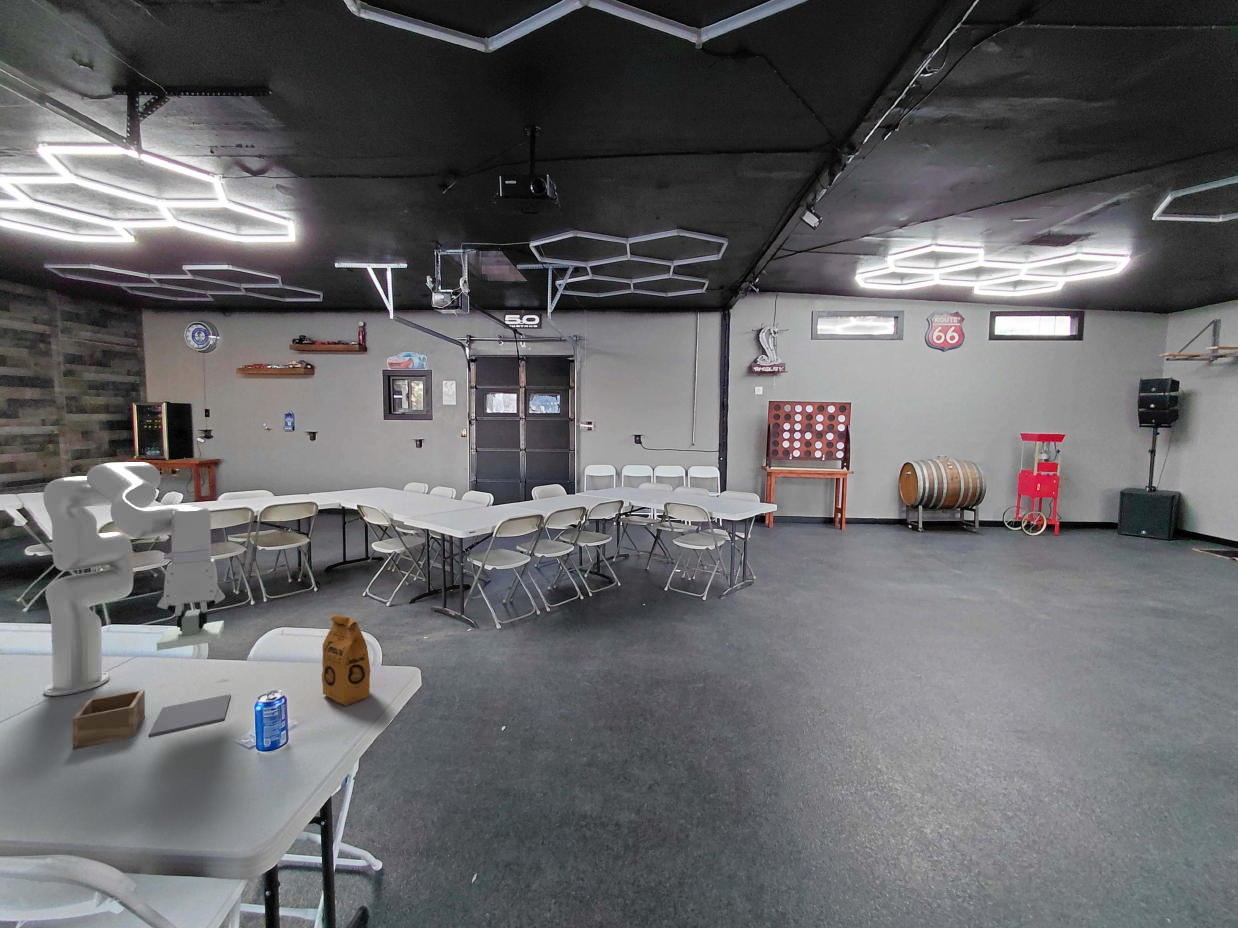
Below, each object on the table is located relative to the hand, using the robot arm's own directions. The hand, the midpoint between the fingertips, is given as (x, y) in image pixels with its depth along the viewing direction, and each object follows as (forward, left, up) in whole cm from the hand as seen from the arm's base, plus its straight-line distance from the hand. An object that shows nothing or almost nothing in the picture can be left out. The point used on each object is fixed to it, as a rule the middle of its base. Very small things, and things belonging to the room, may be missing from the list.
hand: (192, 627), depth 126 cm
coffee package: (+9, +34, -23) cm, 42 cm away
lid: (0, 0, -3) cm, 3 cm away
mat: (0, 0, -23) cm, 23 cm away
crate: (0, -15, -23) cm, 27 cm away
